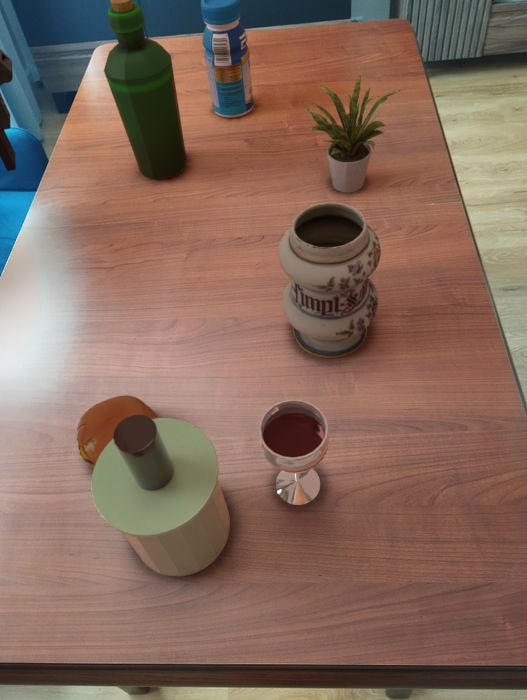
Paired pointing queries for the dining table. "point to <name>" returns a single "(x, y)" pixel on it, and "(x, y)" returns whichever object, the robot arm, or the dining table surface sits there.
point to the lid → (154, 476)
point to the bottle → (145, 93)
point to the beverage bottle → (227, 58)
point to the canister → (188, 541)
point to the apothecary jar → (330, 278)
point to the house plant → (349, 138)
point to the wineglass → (294, 447)
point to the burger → (106, 424)
